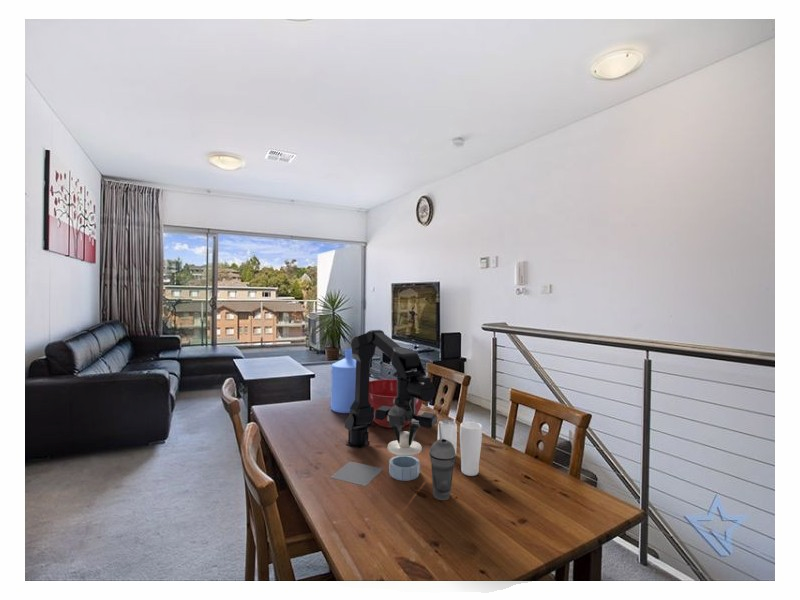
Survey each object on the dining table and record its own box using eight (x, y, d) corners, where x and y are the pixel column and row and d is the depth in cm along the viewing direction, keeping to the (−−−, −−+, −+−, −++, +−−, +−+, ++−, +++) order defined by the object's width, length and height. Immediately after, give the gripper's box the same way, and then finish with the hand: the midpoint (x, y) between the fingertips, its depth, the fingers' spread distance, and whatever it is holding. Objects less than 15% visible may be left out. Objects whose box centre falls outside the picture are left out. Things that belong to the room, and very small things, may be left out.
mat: (329, 478, 116) (329, 477, 116) (350, 462, 127) (350, 461, 127) (365, 487, 111) (365, 486, 111) (383, 469, 122) (383, 468, 122)
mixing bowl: (437, 420, 170) (438, 385, 170) (403, 440, 146) (404, 400, 146) (384, 408, 185) (385, 376, 185) (345, 425, 161) (346, 388, 161)
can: (455, 460, 130) (456, 425, 130) (436, 458, 131) (437, 423, 131) (456, 452, 136) (457, 418, 136) (438, 450, 137) (439, 417, 137)
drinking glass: (482, 469, 124) (483, 423, 123) (479, 479, 117) (480, 430, 117) (460, 466, 126) (462, 420, 125) (456, 475, 119) (458, 427, 119)
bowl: (384, 477, 117) (384, 464, 117) (396, 465, 125) (396, 453, 125) (412, 484, 113) (413, 470, 113) (423, 471, 122) (423, 458, 122)
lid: (381, 452, 116) (382, 436, 116) (395, 439, 126) (395, 425, 126) (414, 458, 112) (415, 442, 112) (426, 445, 122) (426, 430, 122)
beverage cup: (447, 506, 102) (450, 430, 102) (423, 497, 106) (425, 425, 106) (459, 494, 109) (461, 422, 108) (435, 486, 112) (437, 417, 112)
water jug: (354, 415, 173) (356, 353, 173) (324, 411, 179) (325, 350, 178) (369, 406, 188) (370, 348, 187) (340, 402, 193) (341, 346, 193)
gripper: (366, 395, 115) (365, 448, 115) (426, 404, 108) (424, 460, 108) (382, 387, 125) (381, 435, 126) (438, 395, 118) (437, 446, 118)
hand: (404, 444), depth 119 cm, fingers closed on lid, 3 cm apart
